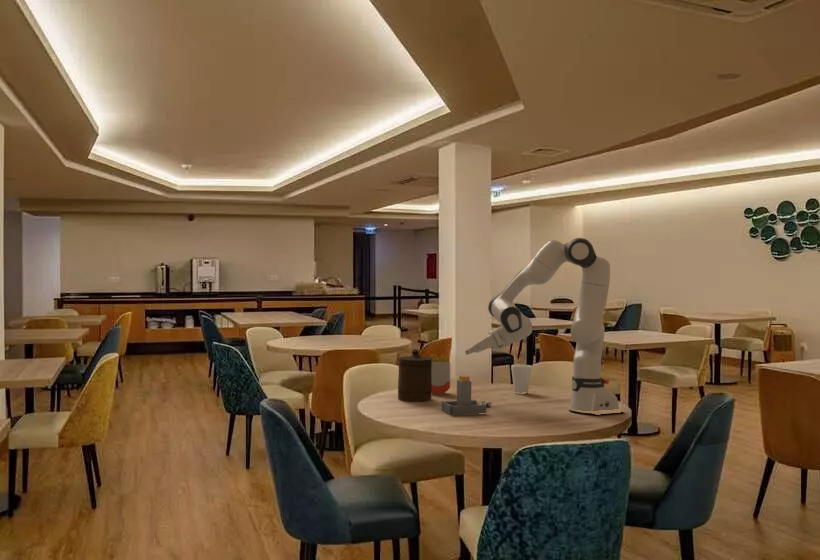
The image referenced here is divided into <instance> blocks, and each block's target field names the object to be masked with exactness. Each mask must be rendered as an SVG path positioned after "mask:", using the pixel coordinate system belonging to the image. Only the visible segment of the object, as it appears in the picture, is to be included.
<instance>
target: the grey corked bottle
mask: <svg viewBox="0 0 820 560" xmlns="http://www.w3.org/2000/svg"><path fill="white" fill-rule="evenodd" d="M471 400H472V381H471V380H470V376H469V375H459V376H458V379H457V380H456V401H457V406H466V405H471Z"/></svg>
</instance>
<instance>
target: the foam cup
mask: <svg viewBox="0 0 820 560" xmlns="http://www.w3.org/2000/svg"><path fill="white" fill-rule="evenodd" d="M532 367H533V366H532V365H529V364H521V363H520V364H519V363H517V364H512V365H511V367H510V368H511V375H512V383H513V384H512V385H513V387H512V388H513V393H514V392H519V393H522V392H528V393H529V389H530V388H529V387H530V381H531V375H532V372H533V371H532V370H533V368H532Z"/></svg>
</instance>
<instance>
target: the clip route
mask: <svg viewBox="0 0 820 560" xmlns="http://www.w3.org/2000/svg"><path fill="white" fill-rule="evenodd" d="M477 405H480V402H477ZM481 405H486V406H493V405H492V401H488V402H486V401H485V400H481Z"/></svg>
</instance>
